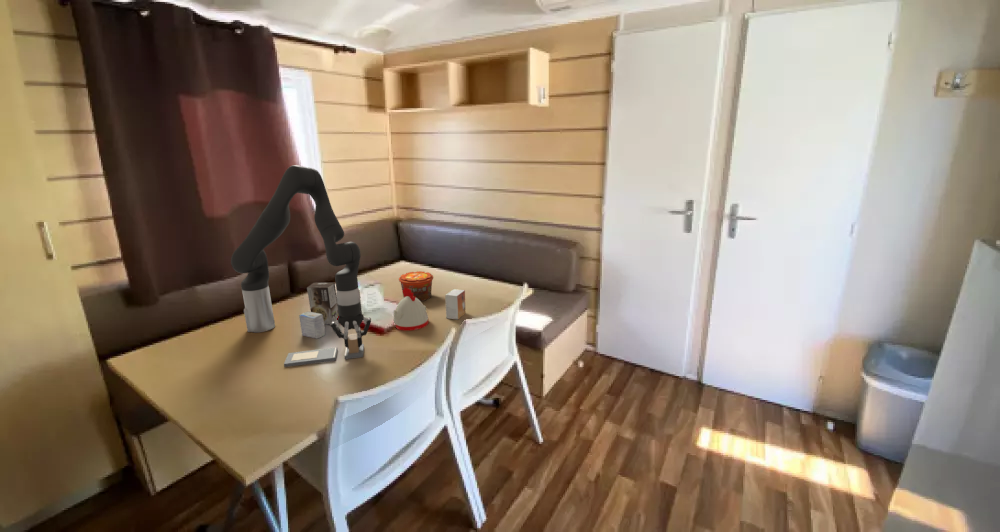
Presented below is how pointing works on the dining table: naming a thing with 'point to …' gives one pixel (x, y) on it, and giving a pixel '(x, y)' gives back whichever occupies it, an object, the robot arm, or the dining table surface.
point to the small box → (455, 304)
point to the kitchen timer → (410, 313)
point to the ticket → (310, 357)
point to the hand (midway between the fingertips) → (354, 346)
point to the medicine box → (312, 324)
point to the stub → (353, 348)
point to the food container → (417, 284)
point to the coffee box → (323, 301)
